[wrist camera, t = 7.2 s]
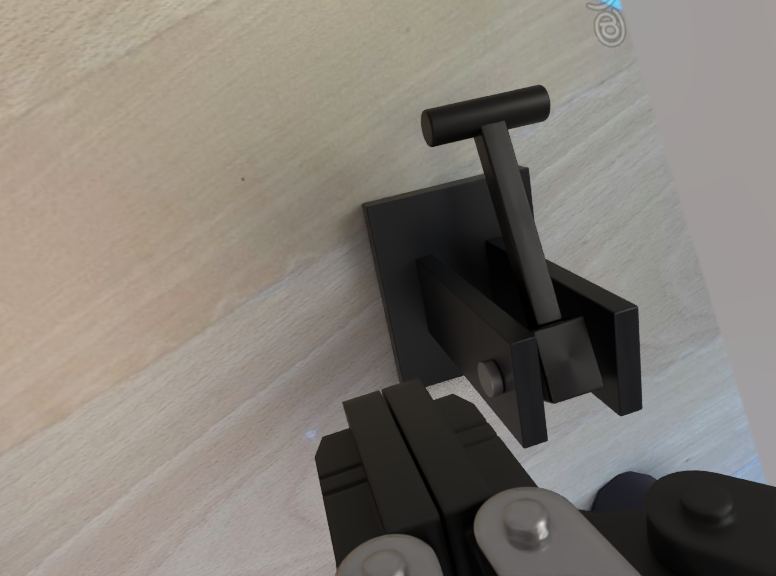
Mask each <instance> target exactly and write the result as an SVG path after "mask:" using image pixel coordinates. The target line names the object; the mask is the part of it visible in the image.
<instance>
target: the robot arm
mask: <svg viewBox="0 0 776 576" xmlns="http://www.w3.org/2000/svg"><path fill="white" fill-rule="evenodd" d="M382 396H383V397H382ZM342 403H343V407H344V411H345V414H346V418H347V421H348V425H349V428H348V429H345V430H342V431H339V432H336V433H333V434H330V435H327V436H324V437H322V440H321V442H320V445H319V447H318V450H317V452H316V455H315V461H316V466H317V471H318V476H319V480H320V486H321V491H322V495H323V501H324V506H325V511H326V516H327V521H328V526H329V530H330V535H331V540H332V545H333V550H334V555H335V560H336V568H337V571H336V574H335V576H776V487H774V486H769V485H765V484H761V483H757V482H752V481H748V480H744V479H740V478H735V477H731V476H727V475H723V474H718V473H713V472H708V471H697V470H694V471H681V472H675V473H672V474H668V475H666V476H664V477H661V478H660V479H658V480H657V481H655V482H654V483H653V484H652V485H651V486H650V488H649V489H648V491H647V493H646V497H645V508H637V509H626V510H615V511H600V512H594V511H584V510H578V509H577V508H576V507H575V506H574V505H573V504H572V503H571V502H569V501H568V500H567V499H566V498H564V497H563V496H561V495H560V494H558V493H555V492H553V491H550V490H547V489H543V488H538V486H537V485H536V484H535V482H534V481H533V480H532V479H531V477H530V476H529V475H528V473H527V472H526V471H525V470H524V468H523V467H522V466H521V464H520V463H519V462H518V460H517V459H516V458H515V457H514V455H513V454H512V453H511V451H510V450H509V449H508V448H507V446H506V445H505V444H504V442H503V441H502V440H501V439H500V437H499V436H498V437H497V434H496V432H495V431H494V429H493V428H492V427H491V426H490V424H489V423H487V422H486V419H485V418H484V417H483V415H482V414H481V413H480V411H479V410H478V409H477V407H476V406H475V405H474V404H473V403H471V402H469V401H467V400H465V399H463V398H461V397H459V396H457V395H454V394H451V395H448V396H445V397H442V398H439V399H436V400H433V399H432V397H431V396H430V394H429V393H428V391H427V389H426V388H425V386H424V385H423V383H422V382H421V380H420V379H419V378H415V379H412V380H409V381H406V382H402V383H399V384H396V385H393V386H390V387H387V388H384V389H382V395H381V393H380V391H379V390H378V391H375V392H372V393H369V394H366V395H363V396H359V397H356V398H353V399H350V400H347V401H344V402H342Z"/></svg>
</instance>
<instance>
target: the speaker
mask: <svg viewBox="0 0 776 576" xmlns="http://www.w3.org/2000/svg"><path fill="white" fill-rule="evenodd" d="M655 481H657V480H656V479H655V478H653V477H652V476H650V475H645V474H640V473H636V472H631V471H629V472H626V473H623V474H619V475H618V476H617V477H616V478H614V479H613V480H612V481H611V482H610V483H609V484H608V485H606V486H605V487H604V488H603V489H602V490H601V491H600V493H599V496H598V499H597V502H596V505H595V507H594V510H593V511H594V512H600V511H615V510H626V509H637V508H645V497H646V493H647V491H648V489H649V488H650V486H651V485H652V484H653V483H654V482H655Z"/></svg>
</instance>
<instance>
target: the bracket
mask: <svg viewBox="0 0 776 576" xmlns="http://www.w3.org/2000/svg"><path fill="white" fill-rule="evenodd" d="M518 167H519V170H520V174H521V177H522V181H523V184H524V188H525V191H526V195H527V198H528V201H529V205H530V208H531V212H532V215H533V219H534V214H533V204H532V195H531V185H530V176H529V168H527V167H522V166H518ZM362 206H363V211H364V216H365V220H366V225H367V230H368V235H369V239H370V244H371V249H372V253H373V258H374V263H375V268H376V272H377V277H378V282H379V286H380V291H381V296H382V301H383V305H384V310H385V315H386V319H387V324H388V329H389V334H390V338H391V343H392V348H393V352H394V357H395V362H396V366H397V371H398V376H399V381H400V383H402V382H406V381H409V380H412V379H415V378H419V379H420V380H421V382H422V383H423V385H424V386H425V387H427V386H431V385H434V384H437V383H441V382H444V381H447V380H450V379H454V378H457V377H460V376H465V377H466V378H467V379H468V381H469V382H470V383H471V384H472V386H473V387H474V388H475V389H476V390H477V392H478V393H479V394H480V395H481V397H482V398H483V399H484V400H485V401H486V403H487V404H488V405H489V406H490V408H491V409H492V410H493V411H494V412H495V414H496V415H497V416H498V417H499V419H500V420H501V421H502V422H503V423H504V425H505V426H506V427H507V428H508V430H509V431H510V432H511V433H512V434H513V436H514V437H515V438H516V439H517V441H518V442H519V443H520V444H521V446H522V447H523V448H528V447H531V446H534V445H537V444H540V443H543V442H546V441H548V437H547V428H546V419H545V410H544V401H543V393H542V384H541V375H540V366H539V357H538V348H537V339H536V336H535V335H534V334H533V333H531V332H530V331H529V330H527V329H526V328H525V327H527V326H528V324H527V321H526V317H525V314H524V310H523V307H522V303H521V300H520V296H519V293H518V289H517V286H516V283H515V279H514V276H513V272H512V269H511V265H510V262H509V258H508V255H507V251H506V248H505V244H504V241H503V237H502V234H501V230H500V227H499V223H498V220H497V216H496V213H495V209H494V206H493V202H492V199H491V195H490V192H489V189H488V185H487V182H486V178H485V175H484V174H482V175H478V176H474V177H470V178H466V179H461V180H457V181H453V182H449V183H445V184H441V185H437V186H433V187H429V188H424V189H420V190H416V191H412V192H408V193H404V194H400V195H396V196H392V197H387V198H383V199H379V200H375V201H371V202H367V203H363V204H362ZM545 260H546V264H547V267H548V270H549V274H550V277H551V281H552V284H553V288H554V291H555V295H556V298H557V301H558V305H559V308H560V312H561V315H562V317H576V316H584V317H585V320H586V323H587V327H588V330H589V334H590V337H591V340H592V344H593V347H594V351H595V354H596V358H597V361H598V364H599V368H600V371H601V375H602V378H603V381H604V385H605V387H604V388H602V389H599V390H596V391H593V392H591V393H592V394H594V395H595V396H596V397H597V398H599V399H600V400H601V401H602V402H603V403H605V404H606V405H607V406H608V407H609V408H611V409H612V410H613V411H614V412H615V413H617V414H618V415H619V416H624V415H627V414H630V413H633V412H636V411H639V410H641V409H642V387H641V363H640V340H639V316H638V306H637V305H635V304H633V303H631V302H629V301H627V300H625V299H623V298H621V297H619V296H617V295H615V294H613V293H611V292H609V291H607V290H605V289H604V288H602V287H600V286H598V285H596V284H594V283H592V282H590V281H588V280H586V279H584V278H582V277H580V276H578V275H576V274H574V273H572V272H570V271H568V270H566V269H564V268H562V267H560V266H559V265H557V264H555V263H553V262H551V261H549V260H547V259H545Z"/></svg>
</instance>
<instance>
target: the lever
mask: <svg viewBox="0 0 776 576" xmlns="http://www.w3.org/2000/svg"><path fill="white" fill-rule="evenodd" d="M549 113H550V99H549V95H548V92H547V90H546V89H545V88H544V87H543V86H541V85H536V86H531V87H526V88H522V89H517V90H513V91H508V92H504V93H499V94H495V95H490V96H486V97H481V98H476V99H472V100H467V101H463V102H458V103H454V104H449V105H445V106H440V107H436V108H431V109H426V110H424V111H423V112H422V114H421V127H422V132H423V136H424V139H425V141H426V143H427V145H428V146H430V147H435V146H439V145H443V144H447V143H452V142H456V141H460V140H465V139H469V138H473V137H474V140H475V143H476V147H477V150H478V154H479V157H480V161H481V164H482V168H483V171H484V175H485V178H486V182H487V185H488V189H489V192H490V195H491V199H492V202H493V206H494V209H495V213H496V216H497V220H498V223H499V227H500V230H501V234H502V237H503V241H504V244H505V248H506V251H507V255H508V258H509V262H510V265H511V269H512V272H513V276H514V279H515V283H516V286H517V289H518V293H519V296H520V300H521V303H522V307H523V310H524V314H525V317H526V321H527V324H528V326H527V327H525V328H526V329H527V330H529V331H530V332H531V333H533V334H534V335H535V336H536V339H537V348H538V357H539V366H540V375H541V384H542V393H543V401H545V402H549V403H552V404H555V403H558V402H561V401H564V400H568V399H571V398H574V397H577V396H580V395H583V394H586V393H589V392H593V391H596V390H599V389H602V388H604V387H605V385H604V381H603V378H602V375H601V371H600V368H599V364H598V361H597V358H596V354H595V351H594V347H593V344H592V340H591V337H590V334H589V330H588V327H587V323H586V320H585V317H584V316H576V317H562V315H561V312H560V308H559V305H558V301H557V298H556V295H555V291H554V288H553V284H552V281H551V277H550V274H549V270H548V267H547V264H546V260H545V257H544V253H543V250H542V246H541V243H540V239H539V236H538V232H537V229H536V226H535V222H534V219H533V215H532V212H531V208H530V205H529V201H528V198H527V195H526V191H525V188H524V184H523V181H522V177H521V174H520V170H519V167H518V164H517V160H516V157H515V153H514V150H513V146H512V143H511V139H510V136H509V132H508V129H512V128H517V127H521V126H525V125H530V124H534V123H538V122H542V121H545V120H546V119H547V118H548V116H549Z"/></svg>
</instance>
